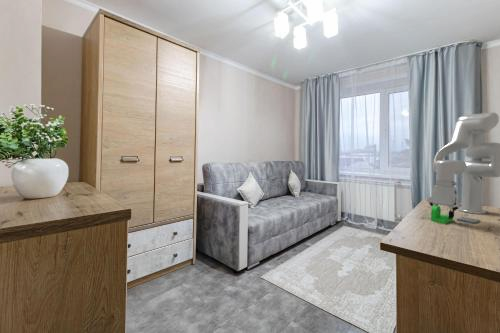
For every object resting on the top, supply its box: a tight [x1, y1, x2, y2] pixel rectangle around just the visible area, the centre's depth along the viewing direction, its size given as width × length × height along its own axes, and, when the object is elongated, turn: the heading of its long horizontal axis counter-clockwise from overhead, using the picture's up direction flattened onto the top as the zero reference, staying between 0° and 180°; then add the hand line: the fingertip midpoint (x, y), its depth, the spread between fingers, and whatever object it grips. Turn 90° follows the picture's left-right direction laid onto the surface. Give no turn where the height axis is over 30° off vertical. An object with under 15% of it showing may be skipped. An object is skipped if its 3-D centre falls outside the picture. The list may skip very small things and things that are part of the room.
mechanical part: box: [430, 205, 454, 225], centre depth 124 cm, size 12×6×8 cm, turn 119°
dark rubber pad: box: [456, 216, 481, 225], centre depth 123 cm, size 8×7×1 cm
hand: (442, 216), depth 124 cm, fingers closed on mechanical part, 6 cm apart
